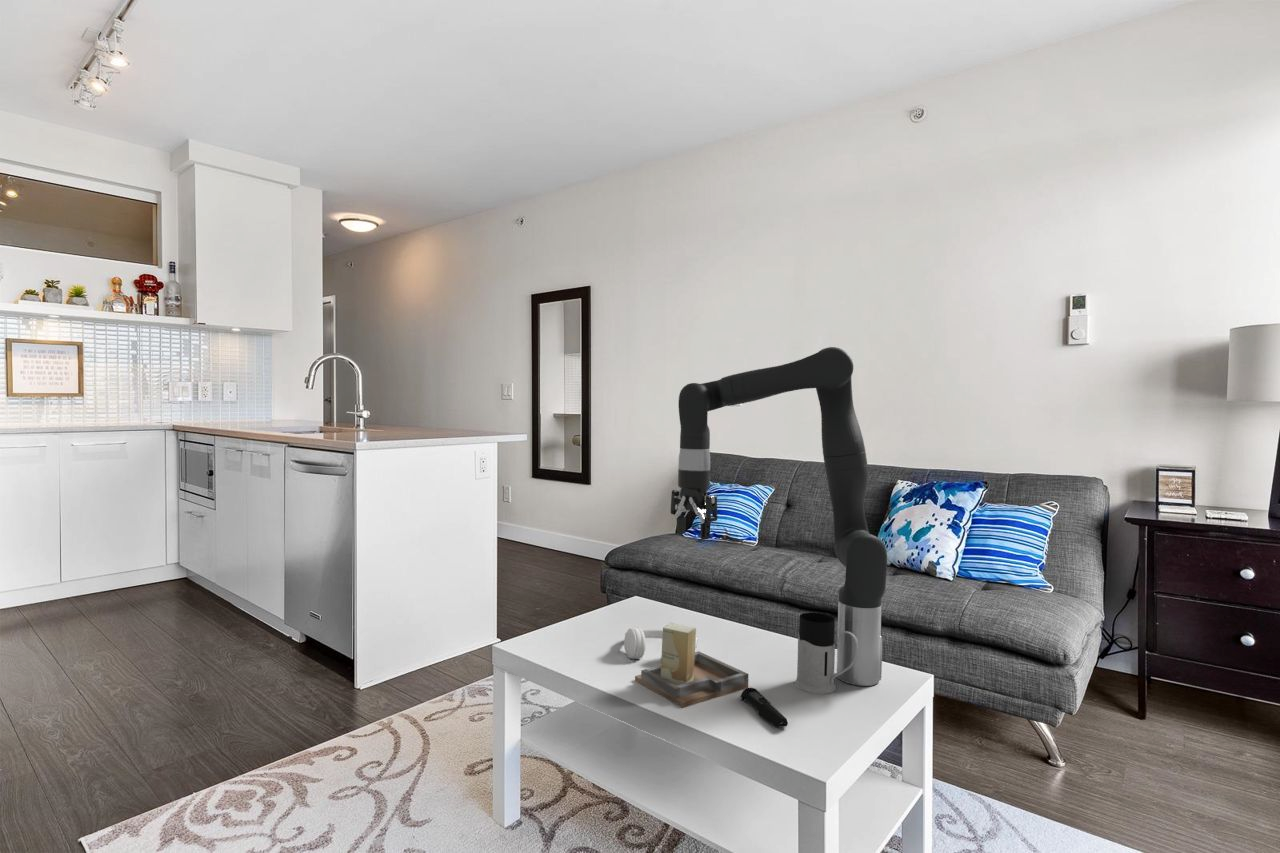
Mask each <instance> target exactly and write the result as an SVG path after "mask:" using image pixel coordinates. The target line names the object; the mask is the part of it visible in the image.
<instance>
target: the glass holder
mask: <svg viewBox="0 0 1280 853" xmlns="http://www.w3.org/2000/svg"><path fill="white" fill-rule="evenodd" d="M798 622H799V623H798V624H799V625H798V628H797V629H798V631H797V633H798V634H797V666H796V667H797V669H796V670H797V671H796V679H795V681H794V686H795V687H796V688H798V689H800V690H801V691H804V692H807V693H810V694H818V695H820V694H822V695H823V694H824V695H825V694H830V693H834V692H835V691H836V689H837V686H836V683H835V678H838V677H837V676H838V675H840V674H842V673H844V672H845V671H847V670H848V669H849V668H851V667H852V665H853V663H854V662H855V659H856V657H857V653H858V641H857V638H856V637H855V636H854V634H852V633H851V632H848V631H845V632H842V633H841V634H840V635H839V637H838V636H837V640H838V645H837V646H836V641H835V626H836V625H835V624H836V620H835V617H834V616H832V615H829V614H826V613H823V612H822V613H821V612H803V613H801V614H799V620H798ZM845 633H847V634H849V635H851V636H852V637H853V638H854V641H855V654H854V658H853V660H852V662H851V663H850V665H849V666H848V667H847V668H846V669H844V670H843V671H841V672H840V673H838V674H837V673H836V674H835V655H836V650H837V648H839V647H840V642H841V637H842V635H843V634H845Z"/></svg>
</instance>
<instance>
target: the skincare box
mask: <svg viewBox="0 0 1280 853" xmlns="http://www.w3.org/2000/svg"><path fill="white" fill-rule="evenodd" d="M662 630H663V637H662V638H661V639H662V640H661V641H662V642H661V661H660V665H661V678H663V679H665V680H667V681H669V682H671V683H672V684H674V685H676V686H677V685H681V684H684V683H688V682H692V681H693V679H694V659H695V652H696V648H695V640H696V634H697V627H694V626H689V625H685V624H679V623H675V622H669V623H668V624H666V625H665V626H664V627H662Z"/></svg>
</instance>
